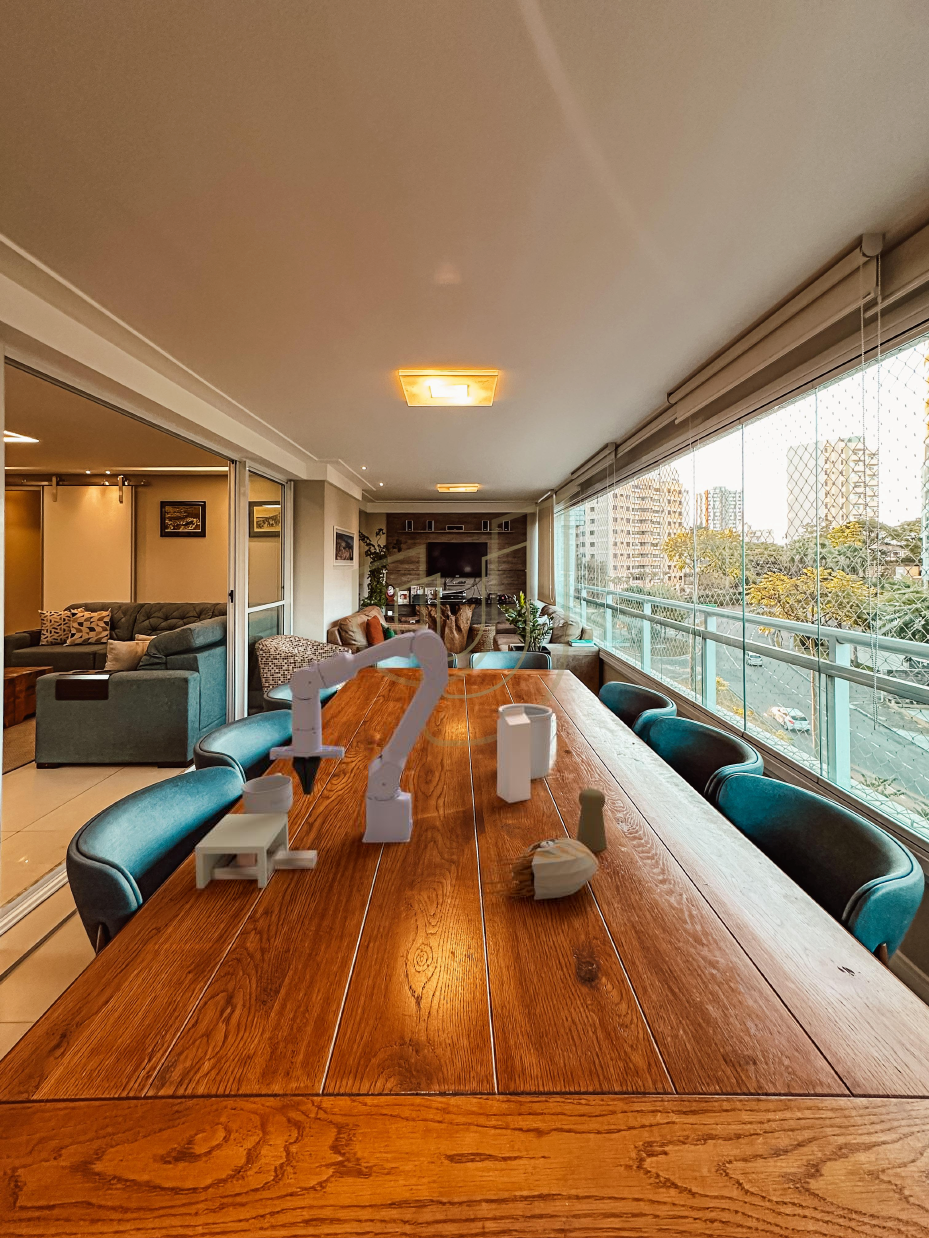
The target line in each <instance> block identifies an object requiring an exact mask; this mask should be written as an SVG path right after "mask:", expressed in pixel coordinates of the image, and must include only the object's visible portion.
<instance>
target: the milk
mask: <svg viewBox="0 0 929 1238" xmlns="http://www.w3.org/2000/svg"><path fill="white" fill-rule="evenodd" d="M496 724H497V725H496V726H497V727H496V728H497V729H496V730H497V731H496V734H497V735H496V737H497V738H496V739H497V740H496V743H497V745H496V747H497V748H496V750H497V751H496V755H497V756H496V760H497V761H496V763H497V766H496V771H497V776H496V777H497V779H496V780H497V782H496V783H497V784H496V787H497V788H496V793H497V795H496V796H498V797H500V798H501V799H503V800H504V801H506V802H507V803H509V804H511V803H517V802H522V801H526V800H531V779H530V777H531V722H530V721H529V719H528V718H527V716H526V715H525V713H524V707H519V708H510V709H504V710H503V716H502V717H500V718H499V717H498V718H497V720H496Z"/></svg>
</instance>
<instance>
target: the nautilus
mask: <svg viewBox="0 0 929 1238" xmlns="http://www.w3.org/2000/svg"><path fill="white" fill-rule="evenodd" d="M592 852H593V851H590V850H589V849H588V848H587V847H586V846H585V845H583V844H582V843H581V842H579V841H577V839H573V838H570V837H569V838H568V837H559V838H558V837H555V838H548V839H545V840H542V841H539V842H536V843H533V844H531V845H529V847H526V848H525V849H524V851H522V852H521V853H520V855H519V856H517V857H514V858H512V857H511V858H500V859H495V860H492V862H501V861H515V862H503V863H501V864H496V865H495V864H493V866H494V867H503V866H511V865H512V868H510V869H508V870H503V871H495V872H491V873H490V872H489V873H484V874H481V876H487V875H488V876H489V875H494V874H504V873H505V874H508V875H509V874H512V876H511V877H510V878H509V879H508V878H507V879H505V880H504V879H503V880H497V881H489V882H481V884H482V885H497V884H498V885H499V884H509V885H513V882H517V883H514V886H512V887H509V888H506V889H495V890H493V891H490V892H481V891H480V894H487V895H488V894H489V895H490V894H495V893H496V894H498V895H499V896H497V897H495V898H494V900H497V899H499V898H500V897H502V896H508V897H515V898H513V899H512V900H510V901H509V902H510V903H511V902H513V901H514V900H517V899H519V898H522V897H523V898H525V897H528V896H532V895H534V897H533V899H534V900H543V899H544V900H545V899H557V898H563V897H566V896H569V895H573V894H574V893H576V892H578V891H579V890H581V889H582V887H583V886H584V885H585V884H587V883H589V881H591V879H592V878H593V877H594V875H595V874H596V872H597V870H598V868H599V860H598V859H597V857H596V855H595V854H594V853H592ZM522 888H523V889H522ZM520 889H522V890H520ZM507 891H510V892H507ZM502 892H503V893H502ZM504 892H507V893H504ZM513 893H519V894H513Z"/></svg>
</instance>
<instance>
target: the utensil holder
mask: <svg viewBox="0 0 929 1238" xmlns="http://www.w3.org/2000/svg"><path fill="white" fill-rule="evenodd" d="M519 707H524V713H525V715H526V716H527V718H528V719H529V721H530V722H531V777H530V780H535V779H541V778H545V777H546V776H547V775H549V772H550V761H551V760H550V759H551V758H550V757H551V738H552V737H551V736H552V733H551V732H552V716H553V709H552V708H551V707H549V706H546V705H545V706H544V705H541V704H535V703H533V704H532V703H510V704H506V705H505V704H504V705H501V706H499V707H498V711H497V713H498V716H499V717H498V719H499V718H500V717H502V716H503V710H504V709H510V708H519Z"/></svg>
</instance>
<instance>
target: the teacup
mask: <svg viewBox="0 0 929 1238" xmlns="http://www.w3.org/2000/svg"><path fill="white" fill-rule="evenodd" d="M240 790H241V791H242V802H243V808H244V812H245V814H287V813H288V812H289V810H290V809H291V808H292V807H293V802H294V801H293V800H294V797H293V796H294V795H293V778H292V777H291V776H288V775H284V774H283V775H282V773H280V772H276V773H274V774H273V775H265V776H261V777H256V778H253V779H251V780H248V781H246V782H245V783H244V784H243V783H242V785H241V788H240Z"/></svg>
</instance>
